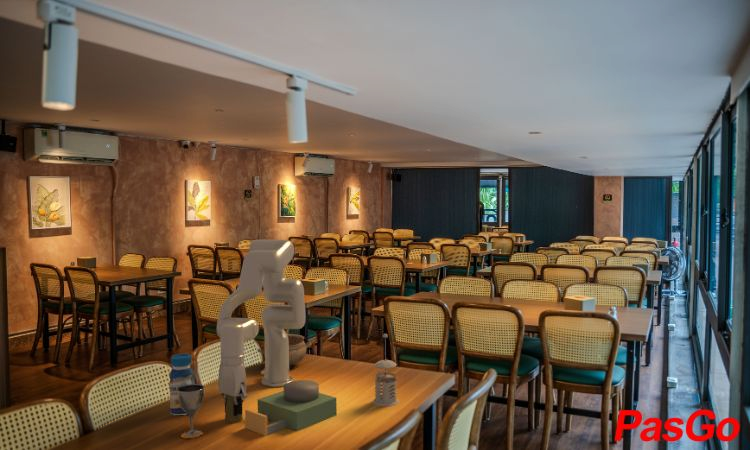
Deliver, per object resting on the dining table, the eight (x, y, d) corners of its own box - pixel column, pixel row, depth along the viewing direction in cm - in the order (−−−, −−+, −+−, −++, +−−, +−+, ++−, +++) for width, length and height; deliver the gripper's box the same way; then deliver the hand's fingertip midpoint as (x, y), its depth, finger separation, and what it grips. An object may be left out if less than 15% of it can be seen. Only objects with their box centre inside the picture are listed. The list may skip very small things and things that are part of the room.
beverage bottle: (200, 409, 211) (198, 353, 210) (185, 417, 203) (183, 359, 202) (180, 406, 214) (178, 351, 213) (164, 415, 206) (163, 358, 205)
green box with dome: (236, 424, 197) (235, 394, 196) (297, 402, 217) (296, 375, 217) (275, 439, 184) (274, 407, 183) (336, 414, 204) (336, 386, 204)
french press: (403, 399, 219) (402, 332, 218) (391, 409, 209) (390, 339, 208) (379, 395, 224) (378, 329, 222) (365, 405, 213) (364, 336, 212)
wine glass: (182, 430, 192) (180, 384, 192) (207, 429, 193) (206, 383, 192) (175, 440, 184) (174, 392, 184) (202, 438, 185) (200, 391, 184)
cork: (238, 423, 197) (237, 391, 197) (221, 422, 199) (220, 390, 198) (245, 417, 203) (245, 385, 203) (229, 415, 204) (228, 384, 204)
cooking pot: (264, 375, 251) (263, 346, 251) (251, 364, 268) (251, 337, 267) (319, 367, 263) (318, 339, 262) (304, 357, 279) (303, 331, 279)
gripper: (208, 358, 203) (209, 411, 203) (238, 366, 192) (239, 422, 192) (226, 353, 208) (228, 405, 209) (257, 361, 197) (258, 416, 198)
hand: (233, 413), depth 201 cm, fingers closed on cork, 4 cm apart
